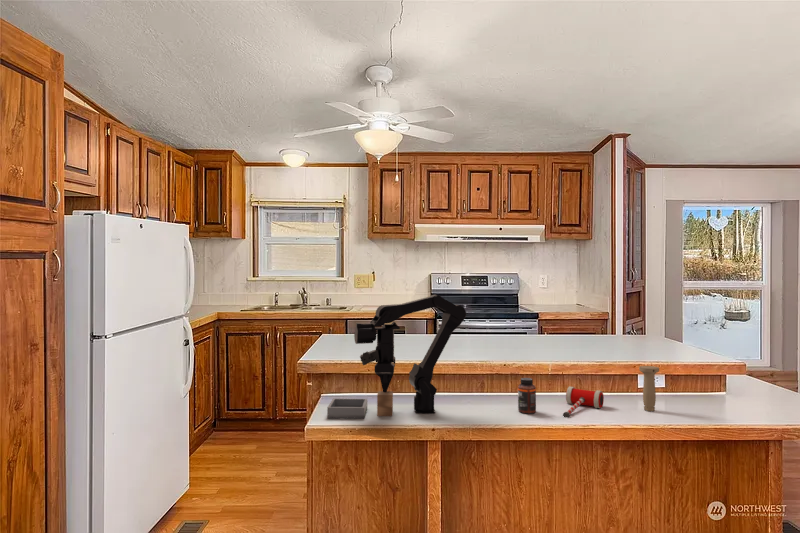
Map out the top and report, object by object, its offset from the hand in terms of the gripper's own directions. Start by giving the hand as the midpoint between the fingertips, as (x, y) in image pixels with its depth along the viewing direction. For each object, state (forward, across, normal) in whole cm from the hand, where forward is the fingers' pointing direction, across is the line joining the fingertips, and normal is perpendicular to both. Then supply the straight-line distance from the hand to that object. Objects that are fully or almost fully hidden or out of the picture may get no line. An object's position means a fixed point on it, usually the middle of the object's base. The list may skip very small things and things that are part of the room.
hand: (385, 389), depth 167 cm
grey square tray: (+8, 0, -13) cm, 15 cm away
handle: (+9, -7, +91) cm, 92 cm away
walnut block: (+8, 0, 0) cm, 8 cm away
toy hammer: (+9, -8, +68) cm, 69 cm away
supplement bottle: (+9, -4, +48) cm, 49 cm away
